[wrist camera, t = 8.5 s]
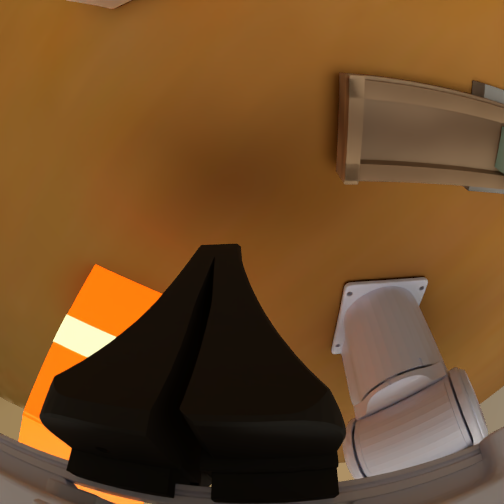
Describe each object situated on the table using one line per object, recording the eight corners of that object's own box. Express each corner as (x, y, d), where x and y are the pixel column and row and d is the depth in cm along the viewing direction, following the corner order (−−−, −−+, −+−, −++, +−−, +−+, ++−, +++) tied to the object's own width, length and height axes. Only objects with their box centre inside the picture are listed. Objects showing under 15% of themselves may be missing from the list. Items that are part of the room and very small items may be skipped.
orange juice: (94, 262, 24) (-3, 489, 8) (187, 303, 27) (148, 544, 10) (84, 315, 28) (19, 496, 12) (162, 348, 30) (127, 535, 14)
